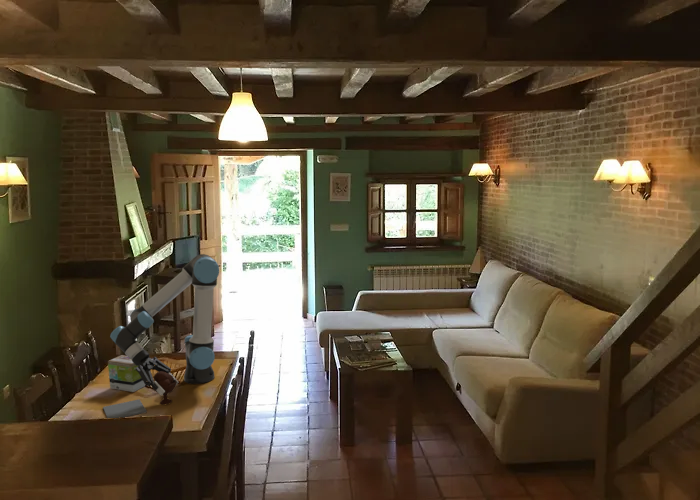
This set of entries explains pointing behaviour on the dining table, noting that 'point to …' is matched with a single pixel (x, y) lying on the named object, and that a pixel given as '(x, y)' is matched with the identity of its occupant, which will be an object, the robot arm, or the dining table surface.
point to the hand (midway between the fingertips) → (170, 388)
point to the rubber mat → (124, 409)
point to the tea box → (124, 374)
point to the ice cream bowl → (165, 385)
